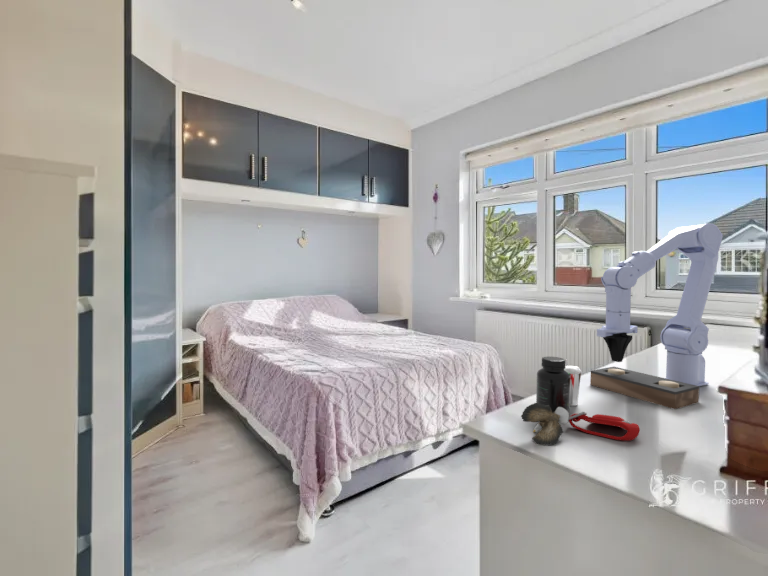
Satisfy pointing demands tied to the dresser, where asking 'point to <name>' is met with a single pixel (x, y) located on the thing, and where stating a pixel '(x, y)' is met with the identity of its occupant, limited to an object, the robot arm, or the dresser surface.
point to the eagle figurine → (545, 422)
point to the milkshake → (573, 382)
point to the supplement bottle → (553, 384)
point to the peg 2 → (669, 384)
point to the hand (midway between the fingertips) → (616, 361)
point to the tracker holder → (607, 420)
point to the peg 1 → (616, 371)
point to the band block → (646, 387)
